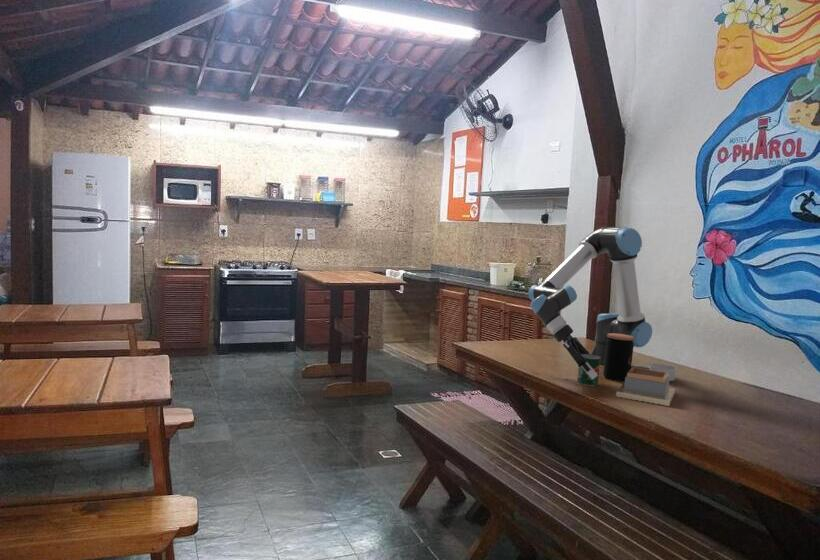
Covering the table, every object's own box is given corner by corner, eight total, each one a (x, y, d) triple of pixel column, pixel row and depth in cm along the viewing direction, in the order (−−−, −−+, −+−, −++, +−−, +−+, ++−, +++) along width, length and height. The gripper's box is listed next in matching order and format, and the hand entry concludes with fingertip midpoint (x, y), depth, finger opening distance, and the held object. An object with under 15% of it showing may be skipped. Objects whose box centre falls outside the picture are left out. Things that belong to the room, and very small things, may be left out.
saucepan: (622, 375, 257) (624, 362, 256) (664, 376, 261) (665, 363, 260) (638, 382, 245) (639, 369, 245) (681, 383, 249) (682, 370, 249)
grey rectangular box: (625, 384, 239) (627, 363, 239) (674, 393, 231) (676, 371, 230) (616, 396, 220) (618, 373, 219) (669, 406, 211) (671, 382, 211)
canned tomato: (589, 387, 232) (592, 359, 231) (573, 382, 238) (575, 354, 237) (602, 384, 237) (604, 357, 236) (585, 380, 243) (588, 353, 242)
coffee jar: (632, 383, 243) (636, 339, 242) (604, 380, 245) (609, 336, 243) (627, 376, 254) (631, 334, 252) (600, 374, 256) (605, 332, 254)
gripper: (559, 331, 252) (595, 376, 246) (545, 338, 234) (584, 386, 228) (573, 320, 249) (609, 365, 243) (560, 326, 231) (599, 374, 225)
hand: (597, 375), depth 235 cm, fingers closed on canned tomato, 8 cm apart
